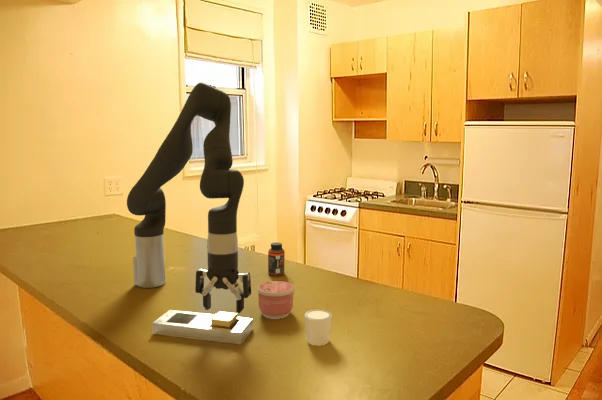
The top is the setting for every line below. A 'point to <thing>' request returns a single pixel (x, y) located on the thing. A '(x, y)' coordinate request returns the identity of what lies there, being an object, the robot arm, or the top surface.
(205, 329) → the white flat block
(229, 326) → the wooden toy cube
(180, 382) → the top surface
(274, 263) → the supplement bottle
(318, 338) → the white cup
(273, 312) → the container
